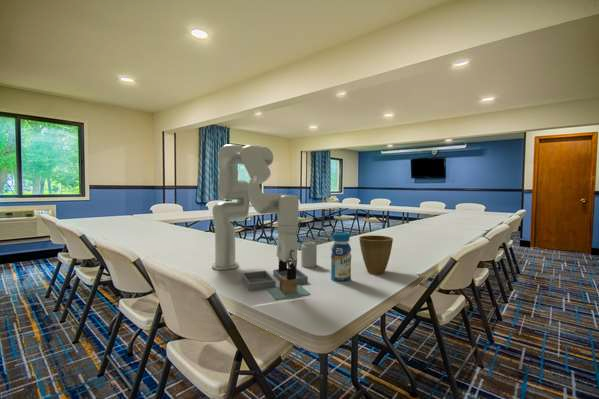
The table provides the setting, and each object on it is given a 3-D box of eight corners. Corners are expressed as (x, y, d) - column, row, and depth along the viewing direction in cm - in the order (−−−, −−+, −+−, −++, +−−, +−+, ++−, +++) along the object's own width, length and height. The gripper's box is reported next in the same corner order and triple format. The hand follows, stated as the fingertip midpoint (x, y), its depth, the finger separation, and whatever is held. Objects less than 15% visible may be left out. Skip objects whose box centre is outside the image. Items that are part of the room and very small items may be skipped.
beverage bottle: (339, 276, 123) (339, 230, 123) (355, 280, 117) (355, 233, 117) (326, 280, 118) (326, 233, 117) (342, 285, 112) (343, 235, 111)
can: (315, 269, 134) (315, 244, 133) (299, 268, 135) (300, 243, 135) (317, 265, 141) (317, 241, 141) (302, 264, 143) (302, 240, 142)
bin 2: (273, 276, 123) (273, 269, 123) (295, 274, 127) (295, 267, 127) (283, 287, 110) (283, 279, 110) (307, 284, 113) (307, 276, 113)
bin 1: (242, 280, 118) (242, 273, 118) (265, 277, 122) (265, 270, 122) (249, 291, 105) (248, 284, 105) (275, 288, 109) (275, 280, 108)
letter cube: (279, 289, 105) (279, 276, 105) (292, 287, 107) (292, 274, 107) (283, 294, 100) (283, 280, 100) (296, 292, 102) (296, 278, 102)
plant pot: (394, 269, 134) (394, 236, 133) (390, 279, 120) (390, 241, 119) (362, 266, 140) (363, 234, 139) (355, 274, 126) (355, 238, 126)
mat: (266, 290, 106) (266, 288, 106) (299, 286, 111) (299, 284, 111) (275, 301, 96) (275, 299, 96) (310, 296, 101) (310, 293, 101)
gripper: (271, 225, 109) (270, 269, 110) (285, 233, 93) (284, 284, 94) (289, 225, 112) (288, 267, 113) (306, 232, 96) (305, 281, 97)
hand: (286, 275), depth 104 cm, fingers open, 9 cm apart
